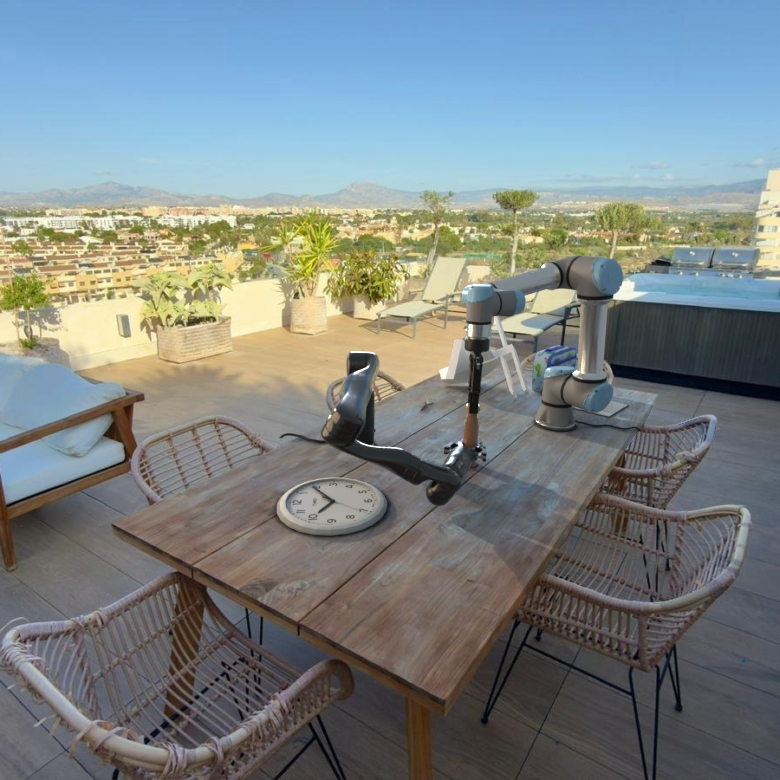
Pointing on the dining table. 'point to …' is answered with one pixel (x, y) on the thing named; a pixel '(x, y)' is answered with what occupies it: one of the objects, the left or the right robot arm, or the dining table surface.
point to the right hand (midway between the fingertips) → (472, 410)
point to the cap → (468, 407)
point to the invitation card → (610, 408)
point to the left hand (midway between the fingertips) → (472, 442)
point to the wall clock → (331, 506)
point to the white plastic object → (491, 361)
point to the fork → (427, 403)
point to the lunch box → (551, 363)
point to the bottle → (471, 431)
